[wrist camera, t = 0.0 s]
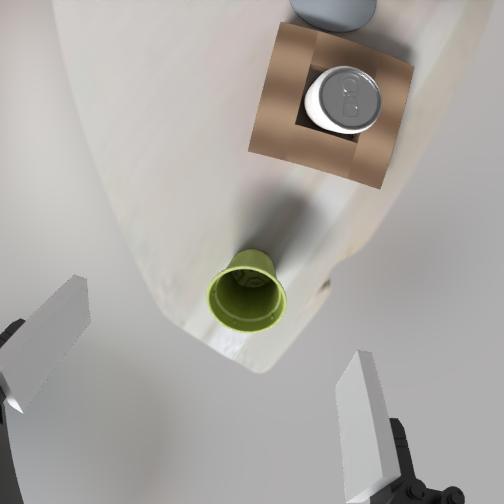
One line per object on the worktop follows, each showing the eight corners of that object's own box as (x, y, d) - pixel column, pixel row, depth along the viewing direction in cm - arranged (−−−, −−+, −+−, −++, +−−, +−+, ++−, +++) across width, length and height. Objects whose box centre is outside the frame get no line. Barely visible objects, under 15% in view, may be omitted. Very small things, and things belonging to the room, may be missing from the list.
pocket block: (280, 30, 30) (280, 21, 27) (403, 69, 30) (414, 66, 27) (250, 148, 37) (247, 151, 33) (372, 183, 37) (380, 189, 34)
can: (354, 80, 32) (385, 66, 21) (356, 130, 34) (387, 137, 23) (302, 78, 32) (311, 61, 21) (305, 129, 35) (314, 134, 24)
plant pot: (278, 230, 41) (277, 259, 33) (291, 290, 44) (292, 328, 37) (211, 243, 43) (195, 274, 35) (230, 300, 46) (219, 337, 38)
